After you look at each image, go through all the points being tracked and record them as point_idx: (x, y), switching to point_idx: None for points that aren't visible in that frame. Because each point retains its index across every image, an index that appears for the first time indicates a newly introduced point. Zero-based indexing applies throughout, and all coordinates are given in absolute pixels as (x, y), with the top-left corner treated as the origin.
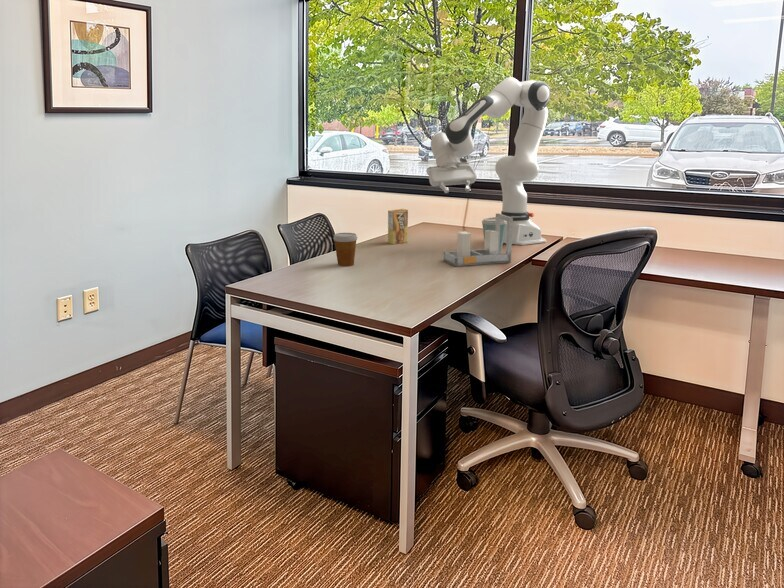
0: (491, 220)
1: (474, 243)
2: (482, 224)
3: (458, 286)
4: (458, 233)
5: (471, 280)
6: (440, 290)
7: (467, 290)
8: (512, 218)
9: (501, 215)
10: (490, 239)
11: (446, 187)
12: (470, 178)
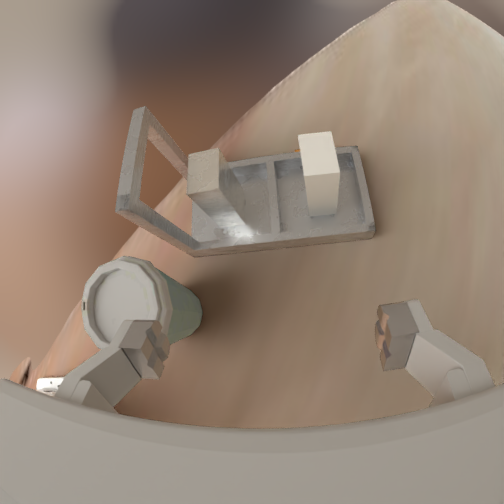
0: (130, 308)
1: None
2: (168, 332)
3: (371, 43)
4: (338, 167)
5: (342, 62)
6: (400, 37)
7: (359, 29)
8: (136, 111)
9: (135, 158)
10: (225, 161)
11: (412, 331)
12: (32, 391)
